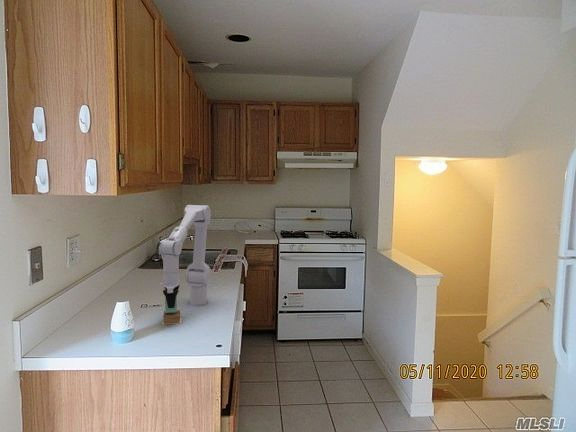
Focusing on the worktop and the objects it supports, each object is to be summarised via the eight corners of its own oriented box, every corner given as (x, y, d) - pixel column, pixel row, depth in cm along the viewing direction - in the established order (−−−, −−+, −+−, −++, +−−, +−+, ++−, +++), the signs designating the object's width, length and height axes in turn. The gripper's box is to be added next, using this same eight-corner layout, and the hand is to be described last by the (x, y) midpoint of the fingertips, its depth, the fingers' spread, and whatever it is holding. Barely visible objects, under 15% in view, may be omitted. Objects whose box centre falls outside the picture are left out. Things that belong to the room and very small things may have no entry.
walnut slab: (164, 318, 155) (164, 310, 155) (180, 317, 156) (180, 309, 156) (163, 323, 149) (163, 316, 149) (179, 322, 150) (179, 315, 150)
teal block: (166, 309, 154) (165, 296, 153) (176, 308, 155) (176, 296, 154) (165, 312, 150) (165, 300, 149) (176, 312, 151) (176, 299, 150)
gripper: (161, 267, 157) (162, 300, 158) (158, 276, 143) (159, 312, 144) (180, 266, 158) (180, 299, 160) (178, 275, 144) (179, 311, 146)
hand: (171, 305), depth 152 cm, fingers closed on teal block, 4 cm apart
